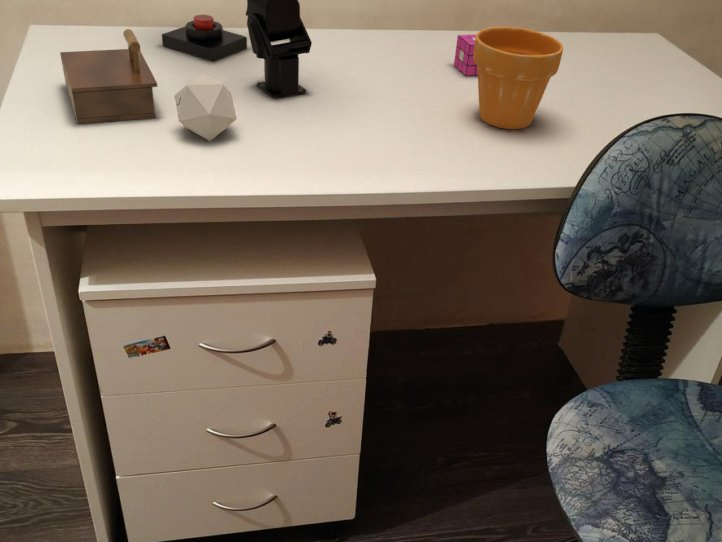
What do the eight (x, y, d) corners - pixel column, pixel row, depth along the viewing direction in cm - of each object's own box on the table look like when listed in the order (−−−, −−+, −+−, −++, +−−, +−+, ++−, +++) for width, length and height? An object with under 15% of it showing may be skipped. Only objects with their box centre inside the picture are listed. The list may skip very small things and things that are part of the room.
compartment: (138, 81, 136) (134, 52, 133) (155, 118, 126) (152, 87, 123) (66, 86, 132) (60, 56, 129) (77, 124, 122) (72, 92, 119)
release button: (218, 27, 150) (217, 17, 149) (205, 32, 147) (204, 21, 146) (202, 23, 151) (202, 13, 150) (190, 27, 149) (189, 17, 147)
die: (195, 120, 128) (157, 78, 119) (243, 95, 126) (209, 50, 117) (202, 160, 124) (163, 119, 115) (252, 135, 122) (217, 92, 113)
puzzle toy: (492, 74, 153) (497, 44, 150) (465, 76, 152) (470, 45, 148) (479, 64, 157) (484, 34, 154) (453, 65, 155) (457, 34, 152)
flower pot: (489, 96, 145) (502, 20, 136) (560, 119, 139) (578, 42, 131) (448, 118, 135) (459, 38, 127) (522, 144, 130) (538, 62, 121)
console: (247, 48, 153) (246, 26, 150) (213, 62, 146) (211, 39, 143) (198, 34, 157) (196, 12, 154) (162, 46, 150) (160, 23, 147)
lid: (139, 52, 133) (135, 19, 130) (157, 86, 123) (153, 51, 119) (60, 55, 129) (54, 21, 126) (72, 92, 119) (65, 56, 115)
